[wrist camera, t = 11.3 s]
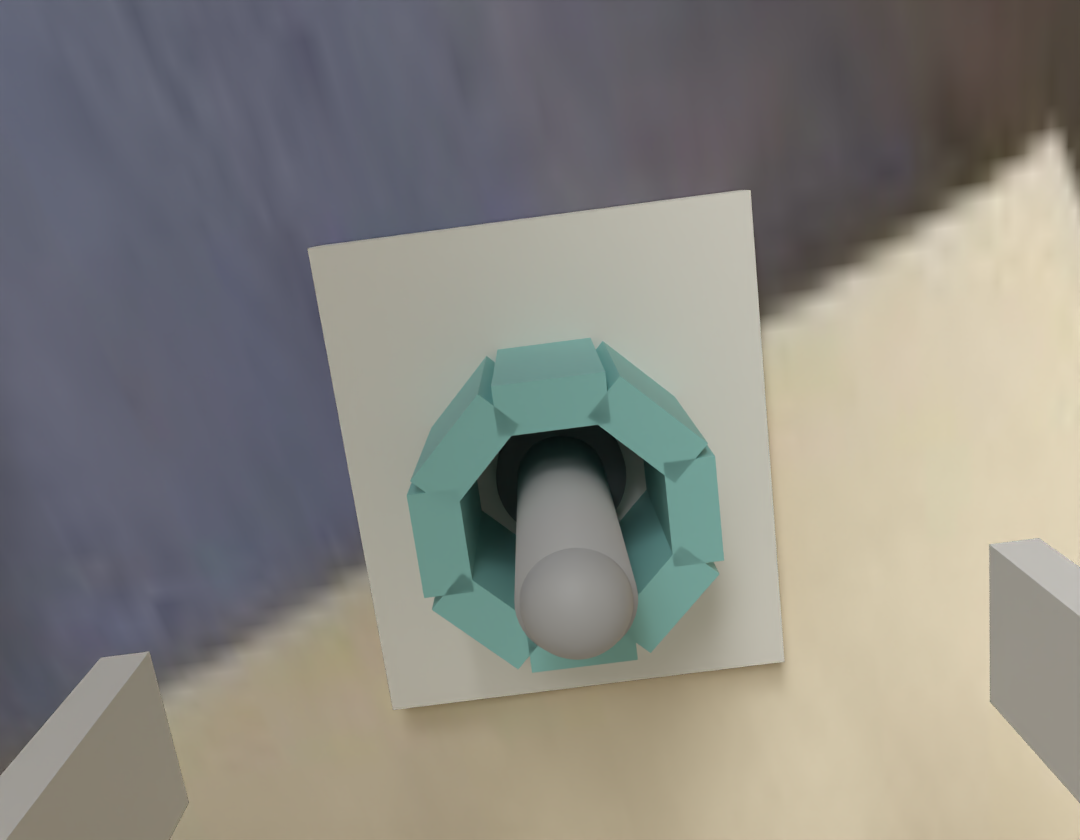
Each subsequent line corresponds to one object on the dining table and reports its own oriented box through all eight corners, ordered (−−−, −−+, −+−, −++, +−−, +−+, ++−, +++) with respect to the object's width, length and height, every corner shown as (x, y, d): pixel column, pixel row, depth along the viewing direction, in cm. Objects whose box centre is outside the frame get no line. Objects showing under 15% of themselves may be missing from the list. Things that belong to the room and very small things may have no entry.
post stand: (317, 245, 27) (170, 287, 16) (740, 189, 26) (893, 191, 15) (398, 689, 30) (324, 980, 19) (774, 643, 30) (919, 909, 19)
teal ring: (415, 360, 26) (390, 399, 21) (673, 327, 26) (706, 358, 21) (453, 597, 28) (438, 684, 23) (695, 567, 28) (731, 648, 23)
